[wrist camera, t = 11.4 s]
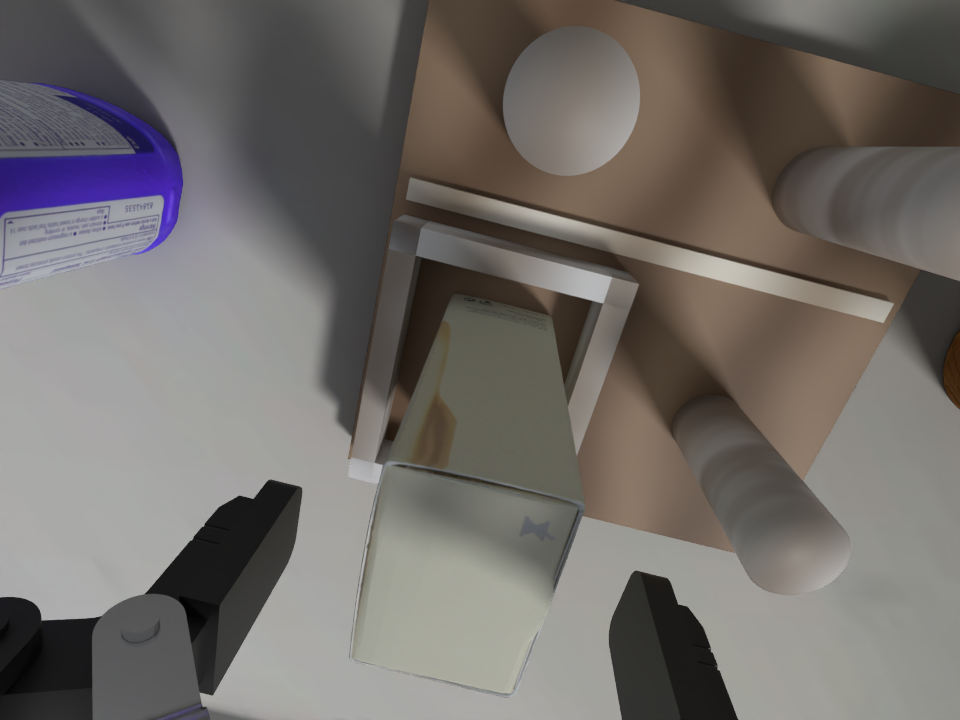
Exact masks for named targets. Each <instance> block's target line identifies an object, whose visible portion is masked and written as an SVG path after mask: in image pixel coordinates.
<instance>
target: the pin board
mask: <svg viewBox="0 0 960 720" xmlns="http://www.w3.org/2000/svg"><path fill="white" fill-rule="evenodd" d="M921 269H922V270H925V271H928V272H931V273H935V274H938V275H941V276H945V277H948V278H951V279H954V280H958V281H960V94H956V93H952V92H949V91H945V90H941V89H938V88H934V87H930V86H927V85H923V84H919V83H916V82H912V81H908V80H905V79H901V78H897V77H894V76H890V75H886V74H883V73H879V72H875V71H872V70H868V69H864V68H861V67H857V66H853V65H850V64H846V63H842V62H839V61H835V60H831V59H828V58H824V57H820V56H817V55H813V54H810V53H806V52H802V51H799V50H795V49H791V48H788V47H784V46H780V45H777V44H773V43H769V42H766V41H762V40H758V39H755V38H751V37H747V36H744V35H740V34H736V33H733V32H729V31H725V30H722V29H718V28H714V27H711V26H707V25H703V24H700V23H696V22H692V21H689V20H685V19H681V18H678V17H674V16H670V15H667V14H663V13H659V12H656V11H652V10H649V9H645V8H641V7H638V6H634V5H630V4H627V3H623V2H619V1H616V0H429V4H428V9H427V15H426V21H425V26H424V32H423V37H422V43H421V49H420V54H419V60H418V66H417V71H416V77H415V83H414V88H413V94H412V100H411V105H410V111H409V117H408V122H407V128H406V134H405V139H404V145H403V151H402V156H401V162H400V168H399V173H398V179H397V185H396V190H395V196H394V202H393V207H392V213H391V219H390V224H389V230H388V236H387V241H386V247H385V253H384V258H383V264H382V270H381V275H380V281H379V287H378V292H377V298H376V304H375V309H374V315H373V321H372V326H371V332H370V338H369V343H368V349H367V355H366V360H365V366H364V372H363V377H362V383H361V389H360V394H359V400H358V406H357V411H356V417H355V423H354V428H353V434H352V439H351V445H350V451H349V456H348V459H351V461H350V467H349V473H348V477H350V478H354V479H358V480H363V481H367V482H371V483H375V484H378V483H379V480H380V476H381V471H382V467H383V465H384V462H385V460H386V458H387V456H388V453H389V451H390V449H391V447H392V444H393V442H394V440H395V437H396V435H397V432H398V430H399V427H400V425H401V422H402V420H403V417H404V415H405V413H406V410H407V408H408V405H409V403H410V400H411V398H412V395H413V393H414V391H415V388H416V386H417V383H418V381H419V378H420V375H421V373H422V370H423V367H424V365H425V362H426V360H427V357H428V355H429V353H430V350H431V347H432V345H433V342H434V340H435V337H436V335H437V332H438V330H439V327H440V325H441V322H442V320H443V317H444V314H445V312H446V309H447V306H448V304H449V302H450V299H451V297H452V295H453V294H461V295H467V296H471V297H476V298H481V299H486V300H491V301H495V302H499V303H503V304H507V305H511V306H515V307H519V308H522V309H526V310H530V311H533V312H537V313H541V314H545V315H548V316H550V317H551V318H552V320H553V326H554V332H555V338H556V344H557V350H558V355H559V361H560V366H561V371H562V377H563V383H564V389H565V394H566V400H567V405H568V410H569V416H570V421H571V427H572V433H573V438H574V443H575V449H576V456H577V461H578V466H579V472H580V478H581V484H582V490H583V495H584V500H585V511H584V514H583V516H585V517H589V518H593V519H597V520H602V521H606V522H610V523H614V524H618V525H622V526H626V527H630V528H634V529H639V530H643V531H647V532H651V533H655V534H659V535H663V536H667V537H671V538H676V539H680V540H684V541H688V542H692V543H696V544H700V545H704V546H708V547H713V548H717V549H721V550H725V551H729V552H733V553H736V554H737V556H738V558H739V560H740V562H741V564H742V565H743V567H744V569H745V571H746V573H747V575H748V576H749V578H750V579H751V580H752V581H753V582H754V583H755V584H756V585H757V586H759V587H760V588H762V589H764V590H766V591H768V592H772V593H775V594H780V595H798V594H804V593H809V592H812V591H815V590H817V589H820V588H822V587H824V586H826V585H827V584H829V583H830V582H832V581H833V580H834V579H835V578H837V577H838V576H839V575H840V574H841V573H842V571H843V570H844V568H845V567H846V565H847V563H848V561H849V558H850V554H851V542H850V539H849V536H848V534H847V532H846V531H845V530H844V529H843V527H842V526H841V525H840V524H839V523H838V521H837V520H836V519H835V518H834V517H833V516H832V514H831V513H830V512H829V511H828V510H827V509H826V507H825V506H824V505H823V504H822V503H821V502H820V500H819V499H818V498H817V497H816V496H815V495H814V493H813V492H812V491H811V490H810V489H809V488H808V486H807V485H806V484H805V483H804V482H803V480H804V478H805V476H806V474H807V472H808V471H809V469H810V467H811V465H812V464H813V462H814V460H815V458H816V456H817V455H818V453H819V451H820V449H821V447H822V446H823V444H824V442H825V440H826V439H827V437H828V435H829V433H830V431H831V430H832V428H833V426H834V424H835V422H836V421H837V419H838V417H839V415H840V414H841V412H842V410H843V408H844V406H845V405H846V403H847V401H848V399H849V397H850V396H851V394H852V392H853V390H854V389H855V387H856V385H857V383H858V381H859V380H860V378H861V376H862V374H863V372H864V371H865V369H866V367H867V365H868V364H869V362H870V360H871V358H872V356H873V355H874V353H875V351H876V349H877V347H878V346H879V344H880V342H881V340H882V338H883V337H884V335H885V333H886V331H887V330H888V328H889V326H890V324H891V322H892V321H893V319H894V317H895V315H896V313H897V312H898V310H899V308H900V306H901V305H902V303H903V301H904V299H905V297H906V296H907V294H908V292H909V290H910V288H911V287H912V285H913V283H914V281H915V280H916V278H917V276H918V274H919V272H920V271H921Z"/></svg>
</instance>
